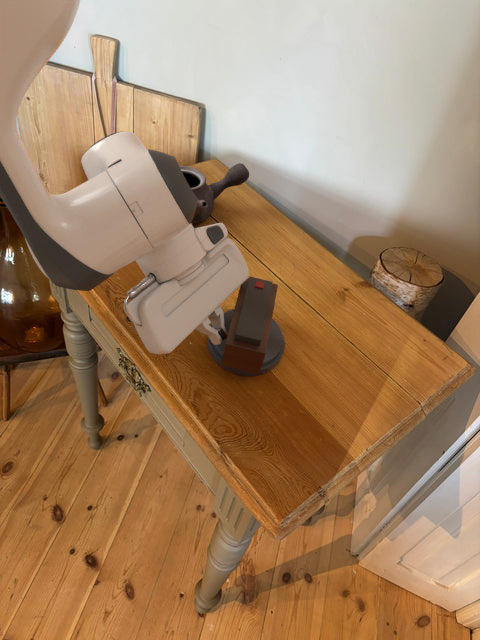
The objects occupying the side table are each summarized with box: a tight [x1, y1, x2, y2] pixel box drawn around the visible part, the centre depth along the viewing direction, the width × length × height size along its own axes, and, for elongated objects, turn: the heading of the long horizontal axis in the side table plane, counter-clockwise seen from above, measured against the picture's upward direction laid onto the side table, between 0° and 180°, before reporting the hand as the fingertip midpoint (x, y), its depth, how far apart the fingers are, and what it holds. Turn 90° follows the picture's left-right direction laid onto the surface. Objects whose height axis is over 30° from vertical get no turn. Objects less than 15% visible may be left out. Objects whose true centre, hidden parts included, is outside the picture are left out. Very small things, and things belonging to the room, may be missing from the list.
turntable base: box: [206, 324, 286, 377], centre depth 72 cm, size 12×12×2 cm
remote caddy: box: [213, 276, 284, 374], centre depth 68 cm, size 14×11×7 cm
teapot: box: [179, 162, 250, 225], centre depth 90 cm, size 19×15×10 cm
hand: (221, 340), depth 66 cm, fingers closed, pressing on remote caddy
